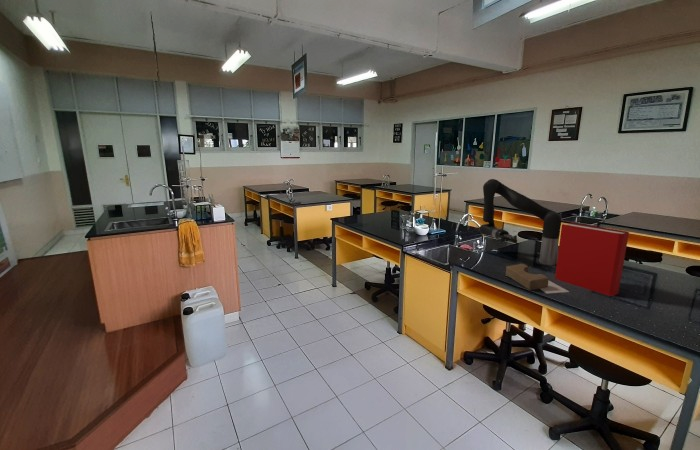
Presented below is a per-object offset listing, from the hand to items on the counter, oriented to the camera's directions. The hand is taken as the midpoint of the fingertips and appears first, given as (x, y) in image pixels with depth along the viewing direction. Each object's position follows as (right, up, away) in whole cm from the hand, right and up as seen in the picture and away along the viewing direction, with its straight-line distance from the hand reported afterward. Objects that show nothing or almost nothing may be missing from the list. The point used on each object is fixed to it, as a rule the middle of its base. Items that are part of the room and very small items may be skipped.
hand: (516, 241), depth 197 cm
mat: (+3, -22, -23) cm, 32 cm away
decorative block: (-7, -15, -11) cm, 20 cm away
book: (+24, -23, -25) cm, 42 cm away
